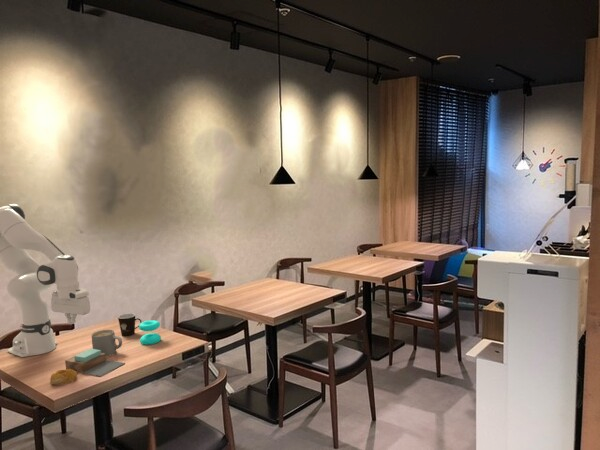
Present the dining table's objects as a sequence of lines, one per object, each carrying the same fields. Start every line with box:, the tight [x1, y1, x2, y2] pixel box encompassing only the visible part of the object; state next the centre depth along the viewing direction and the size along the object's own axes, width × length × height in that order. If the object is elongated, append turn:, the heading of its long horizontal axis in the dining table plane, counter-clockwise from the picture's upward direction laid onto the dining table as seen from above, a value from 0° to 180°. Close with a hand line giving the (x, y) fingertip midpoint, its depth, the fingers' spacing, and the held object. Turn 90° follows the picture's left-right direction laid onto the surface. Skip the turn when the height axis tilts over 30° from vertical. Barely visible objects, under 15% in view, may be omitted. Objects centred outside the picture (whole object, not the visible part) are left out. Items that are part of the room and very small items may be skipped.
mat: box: [82, 359, 126, 378], centre depth 206 cm, size 10×14×1 cm
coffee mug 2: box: [117, 313, 143, 338], centre depth 248 cm, size 12×9×10 cm
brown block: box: [64, 353, 107, 373], centre depth 209 cm, size 11×12×4 cm
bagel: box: [50, 368, 78, 386], centre depth 195 cm, size 10×11×5 cm
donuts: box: [138, 319, 162, 346], centre depth 236 cm, size 10×10×10 cm
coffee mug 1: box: [91, 329, 123, 358], centre depth 222 cm, size 13×10×10 cm
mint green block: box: [73, 348, 101, 362], centre depth 209 cm, size 6×9×2 cm, turn 157°
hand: (71, 322), depth 210 cm, fingers closed
